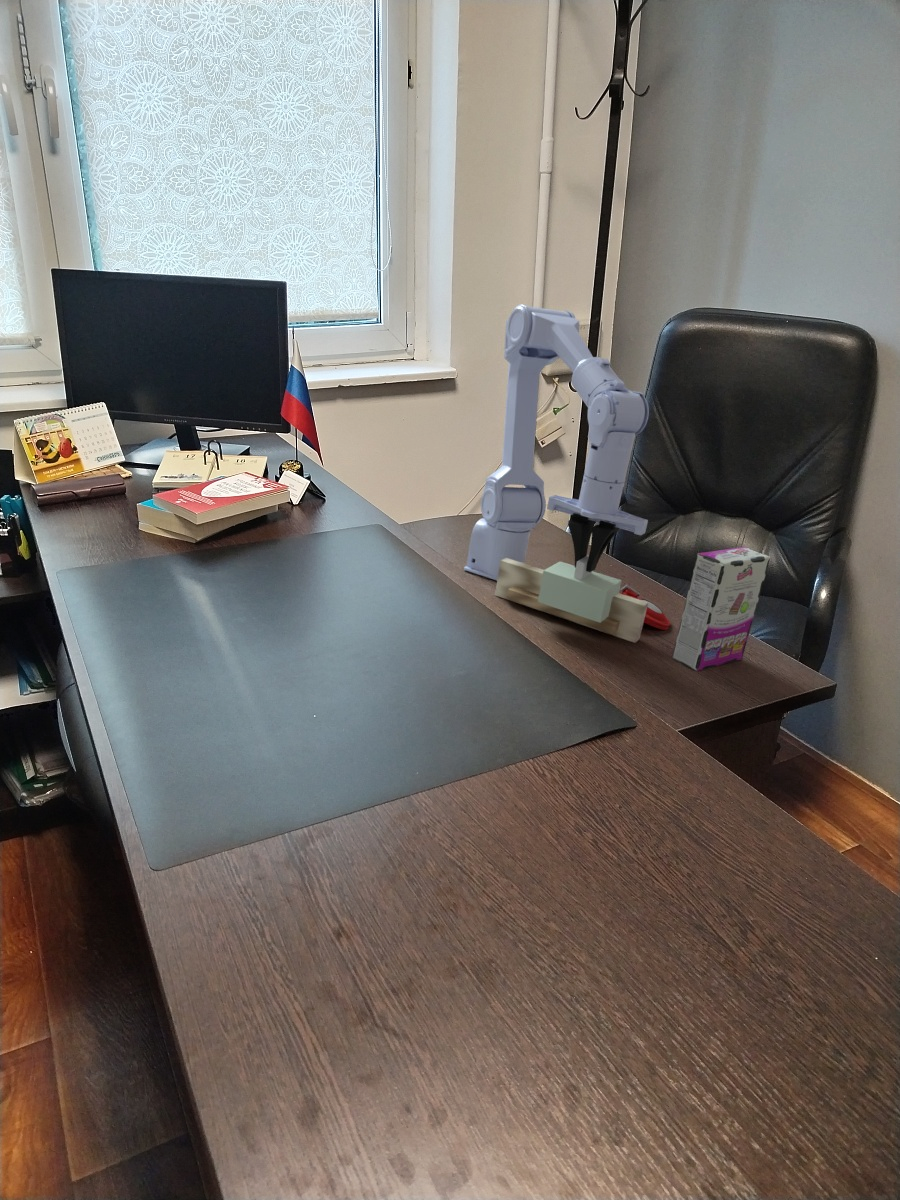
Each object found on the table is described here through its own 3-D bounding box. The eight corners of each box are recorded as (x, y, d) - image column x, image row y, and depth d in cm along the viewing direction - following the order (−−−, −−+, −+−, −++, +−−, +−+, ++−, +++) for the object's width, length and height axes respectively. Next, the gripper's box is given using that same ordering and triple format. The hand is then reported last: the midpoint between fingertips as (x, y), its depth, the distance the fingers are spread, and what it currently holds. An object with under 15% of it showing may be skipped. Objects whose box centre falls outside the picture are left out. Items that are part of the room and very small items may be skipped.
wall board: (488, 598, 133) (494, 562, 131) (500, 592, 136) (506, 557, 134) (630, 646, 123) (639, 609, 121) (639, 639, 126) (648, 602, 124)
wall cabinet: (537, 601, 124) (546, 554, 121) (554, 591, 129) (562, 545, 126) (600, 622, 120) (610, 574, 117) (614, 611, 124) (625, 564, 122)
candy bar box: (715, 646, 128) (743, 545, 122) (742, 660, 124) (773, 556, 118) (668, 657, 121) (696, 551, 115) (695, 672, 118) (726, 563, 112)
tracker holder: (684, 622, 133) (652, 617, 126) (669, 644, 135) (636, 640, 128) (632, 579, 141) (599, 573, 134) (618, 601, 142) (584, 595, 135)
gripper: (546, 469, 117) (528, 560, 122) (644, 494, 111) (622, 589, 116) (565, 463, 123) (548, 550, 128) (660, 487, 117) (638, 578, 122)
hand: (584, 568), depth 122 cm, fingers closed on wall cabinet
